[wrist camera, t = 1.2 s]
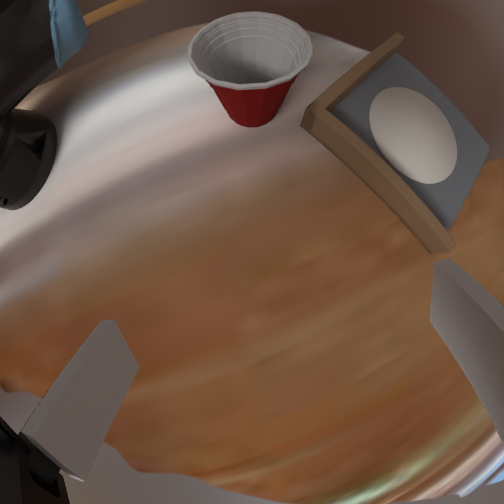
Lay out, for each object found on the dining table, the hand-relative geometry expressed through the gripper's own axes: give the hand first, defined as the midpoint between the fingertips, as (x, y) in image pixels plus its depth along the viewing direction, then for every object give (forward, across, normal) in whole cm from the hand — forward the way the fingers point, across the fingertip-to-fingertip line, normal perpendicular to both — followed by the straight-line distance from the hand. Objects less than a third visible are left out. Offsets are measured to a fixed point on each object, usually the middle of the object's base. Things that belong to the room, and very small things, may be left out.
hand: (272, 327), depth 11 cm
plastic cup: (+27, 0, +11) cm, 29 cm away
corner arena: (+27, +20, +5) cm, 34 cm away
